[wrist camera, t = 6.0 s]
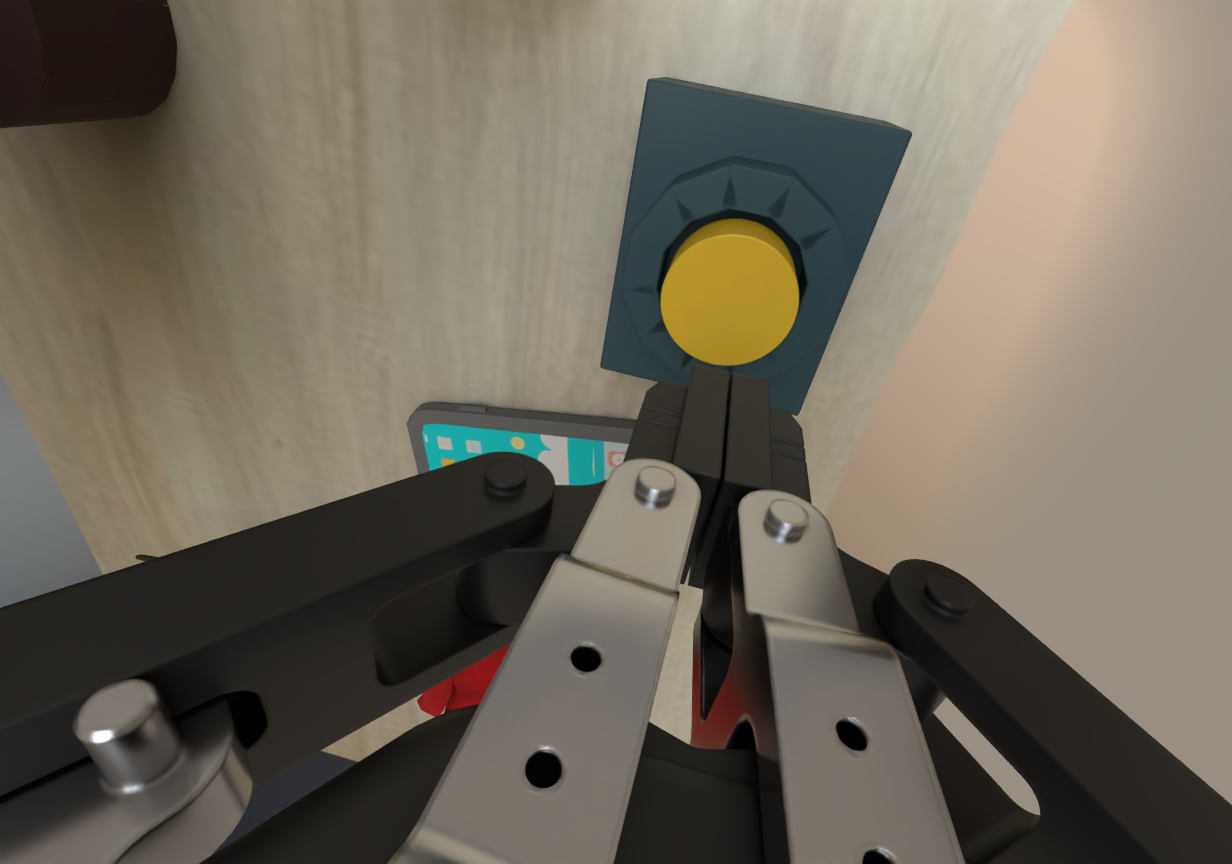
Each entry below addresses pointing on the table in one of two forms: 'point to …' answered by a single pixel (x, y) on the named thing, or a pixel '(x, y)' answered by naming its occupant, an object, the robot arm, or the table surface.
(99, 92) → the lantern
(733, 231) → the button
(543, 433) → the smartphone
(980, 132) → the table surface
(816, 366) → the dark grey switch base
